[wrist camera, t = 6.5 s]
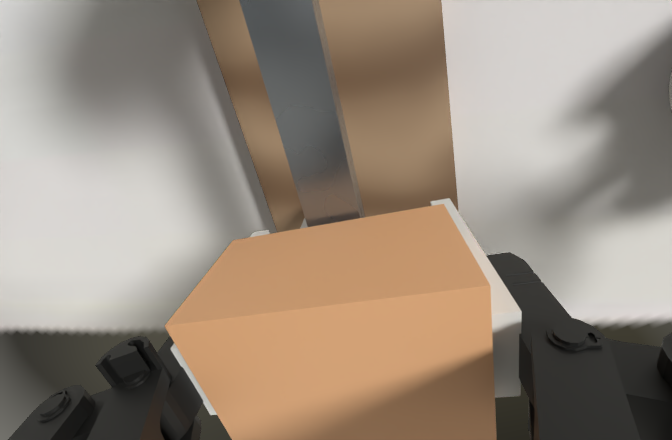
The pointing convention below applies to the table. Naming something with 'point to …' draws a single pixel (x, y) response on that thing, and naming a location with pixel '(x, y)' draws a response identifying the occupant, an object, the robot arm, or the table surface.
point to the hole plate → (355, 102)
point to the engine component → (670, 91)
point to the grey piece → (306, 106)
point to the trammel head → (346, 333)
